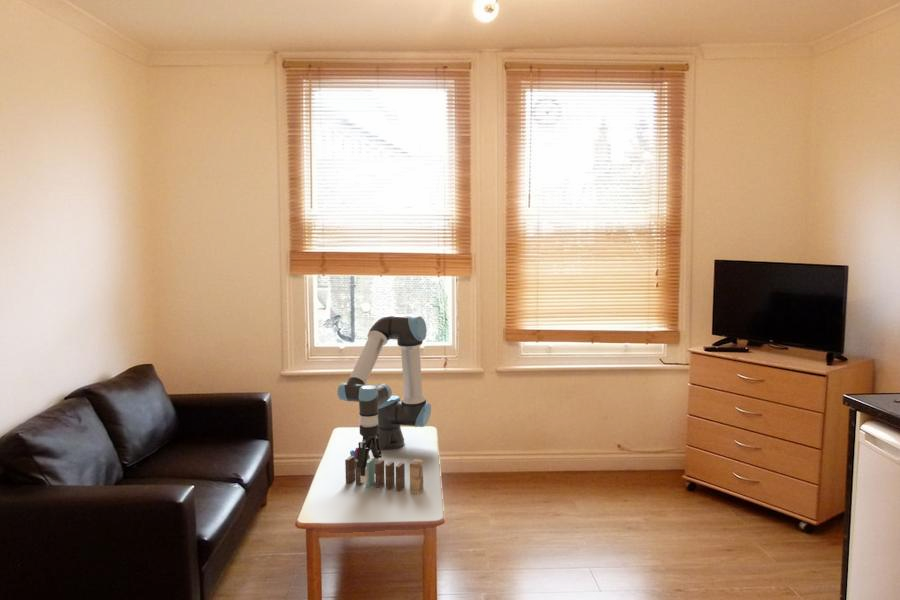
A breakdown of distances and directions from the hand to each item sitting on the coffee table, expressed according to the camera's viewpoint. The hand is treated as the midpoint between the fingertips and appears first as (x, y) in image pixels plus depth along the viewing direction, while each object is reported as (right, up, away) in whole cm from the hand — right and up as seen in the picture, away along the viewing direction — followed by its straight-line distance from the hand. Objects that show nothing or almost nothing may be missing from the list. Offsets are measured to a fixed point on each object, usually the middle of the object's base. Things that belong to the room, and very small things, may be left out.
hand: (370, 478), depth 248 cm
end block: (+19, -3, -7) cm, 21 cm away
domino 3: (+4, -3, -1) cm, 5 cm away
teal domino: (0, -3, 0) cm, 3 cm away
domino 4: (+8, -3, -3) cm, 9 cm away
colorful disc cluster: (-8, -1, +23) cm, 25 cm away
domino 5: (+13, -3, -4) cm, 14 cm away
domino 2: (-4, -3, +2) cm, 5 cm away
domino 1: (-8, -2, +3) cm, 9 cm away
